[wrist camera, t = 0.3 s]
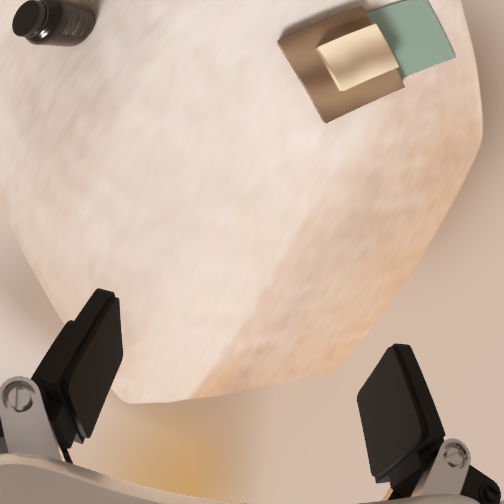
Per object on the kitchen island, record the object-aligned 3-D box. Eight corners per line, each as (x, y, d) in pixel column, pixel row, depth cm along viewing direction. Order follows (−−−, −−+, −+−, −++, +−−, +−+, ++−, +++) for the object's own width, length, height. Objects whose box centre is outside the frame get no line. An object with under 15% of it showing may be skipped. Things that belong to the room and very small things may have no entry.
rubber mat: (362, 14, 31) (363, 14, 30) (423, -4, 28) (424, -5, 28) (397, 79, 35) (398, 79, 34) (454, 57, 32) (455, 57, 31)
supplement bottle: (83, -4, 29) (35, -19, 19) (103, 24, 32) (55, 11, 21) (51, 28, 31) (0, 23, 21) (70, 56, 34) (18, 55, 23)
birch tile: (315, 49, 32) (318, 46, 30) (369, 26, 30) (375, 23, 28) (339, 90, 35) (343, 90, 33) (392, 67, 32) (399, 66, 30)
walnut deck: (277, 43, 34) (277, 40, 32) (357, 9, 30) (361, 5, 29) (323, 121, 39) (326, 123, 37) (399, 86, 35) (405, 87, 34)
